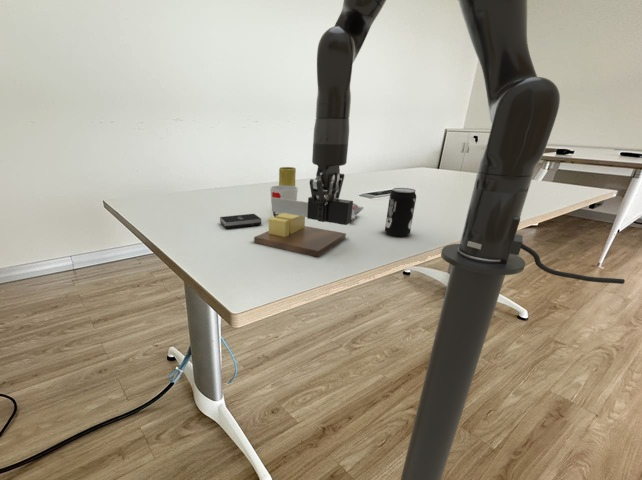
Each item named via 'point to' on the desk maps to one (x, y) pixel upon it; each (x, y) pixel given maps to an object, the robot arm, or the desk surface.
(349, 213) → the knife
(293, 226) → the butter
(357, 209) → the packaged food
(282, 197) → the cup
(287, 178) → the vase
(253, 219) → the external hard drive
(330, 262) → the desk surface
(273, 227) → the butter slice
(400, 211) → the beverage can
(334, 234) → the board
